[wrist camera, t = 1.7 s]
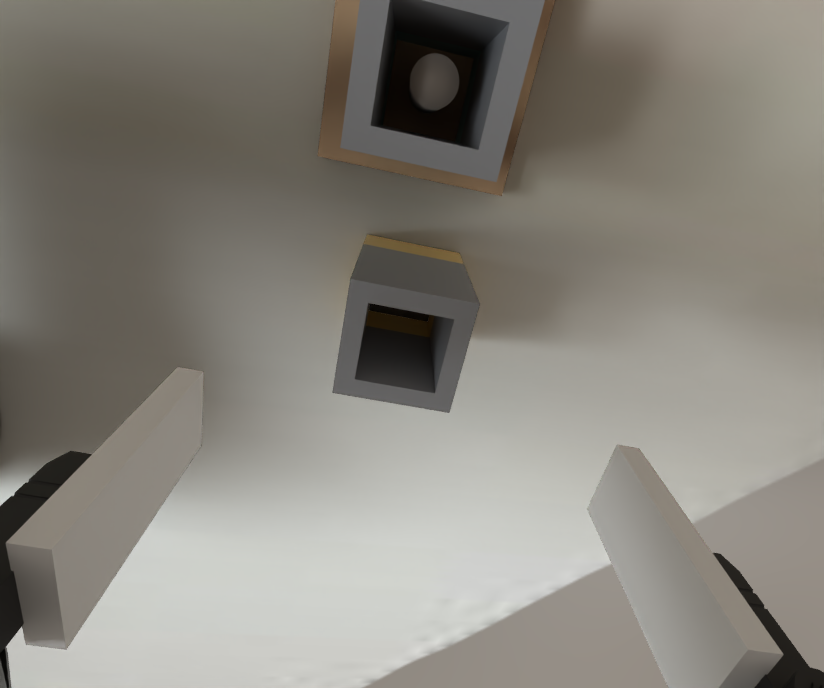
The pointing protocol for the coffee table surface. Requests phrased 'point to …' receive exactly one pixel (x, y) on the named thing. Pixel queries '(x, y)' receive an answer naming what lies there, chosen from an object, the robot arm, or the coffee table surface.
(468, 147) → the sleeve teal
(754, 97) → the coffee table surface
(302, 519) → the coffee table surface
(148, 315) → the coffee table surface
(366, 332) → the sleeve ochre
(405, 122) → the pin board
